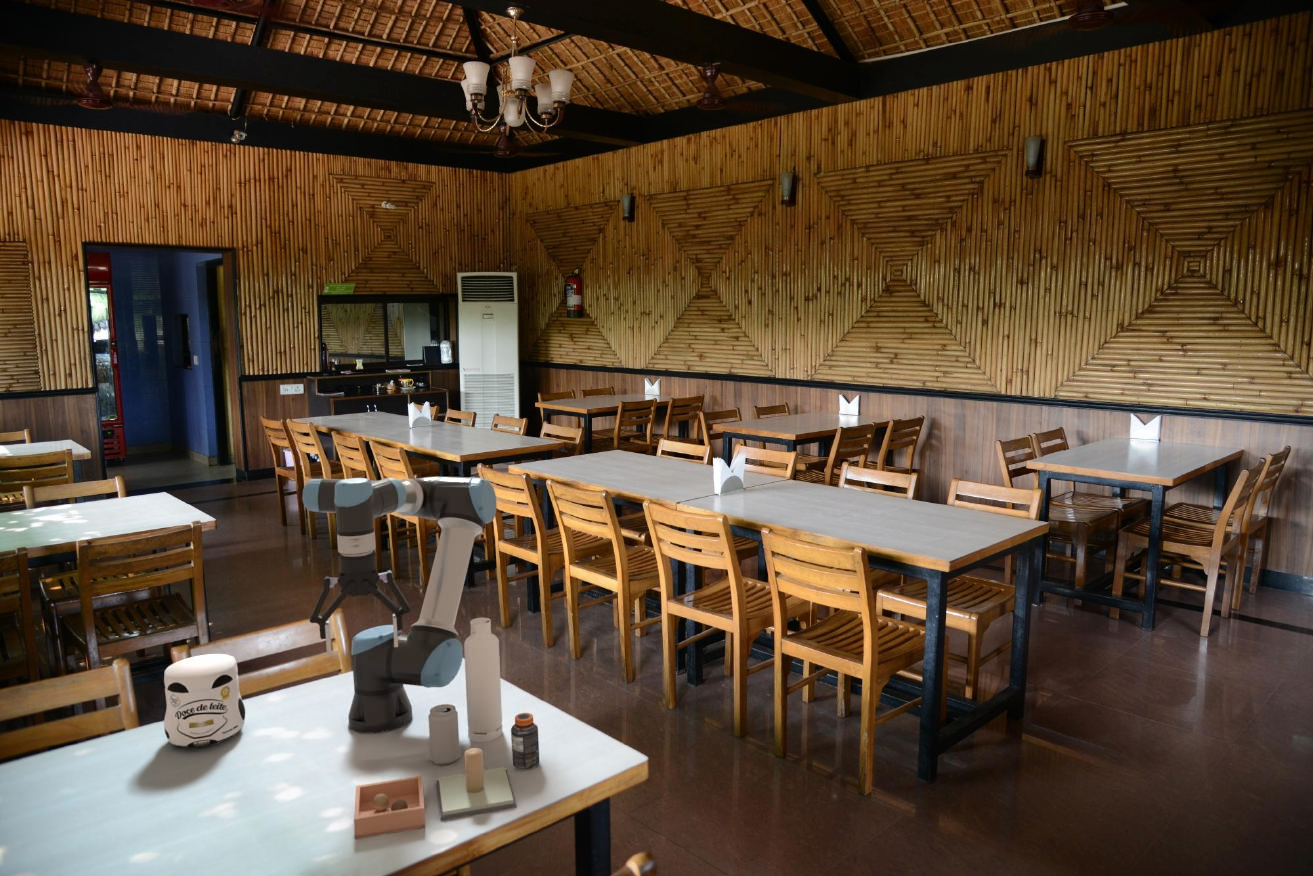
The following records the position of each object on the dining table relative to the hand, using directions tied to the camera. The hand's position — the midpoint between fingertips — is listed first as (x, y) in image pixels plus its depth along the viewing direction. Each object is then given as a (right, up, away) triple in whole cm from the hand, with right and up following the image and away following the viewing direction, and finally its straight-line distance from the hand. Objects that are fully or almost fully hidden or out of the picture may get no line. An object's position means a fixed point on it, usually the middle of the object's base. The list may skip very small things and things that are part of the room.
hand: (363, 649), depth 189 cm
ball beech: (+7, -28, -11) cm, 31 cm away
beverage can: (+15, -28, +10) cm, 33 cm away
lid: (+25, -29, -5) cm, 38 cm away
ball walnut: (+12, -28, -14) cm, 34 cm away
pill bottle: (+34, -28, +7) cm, 44 cm away
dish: (+10, -30, -12) cm, 34 cm away
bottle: (+22, -26, +23) cm, 41 cm away
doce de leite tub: (-45, -27, +23) cm, 58 cm away
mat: (+25, -29, -5) cm, 39 cm away
